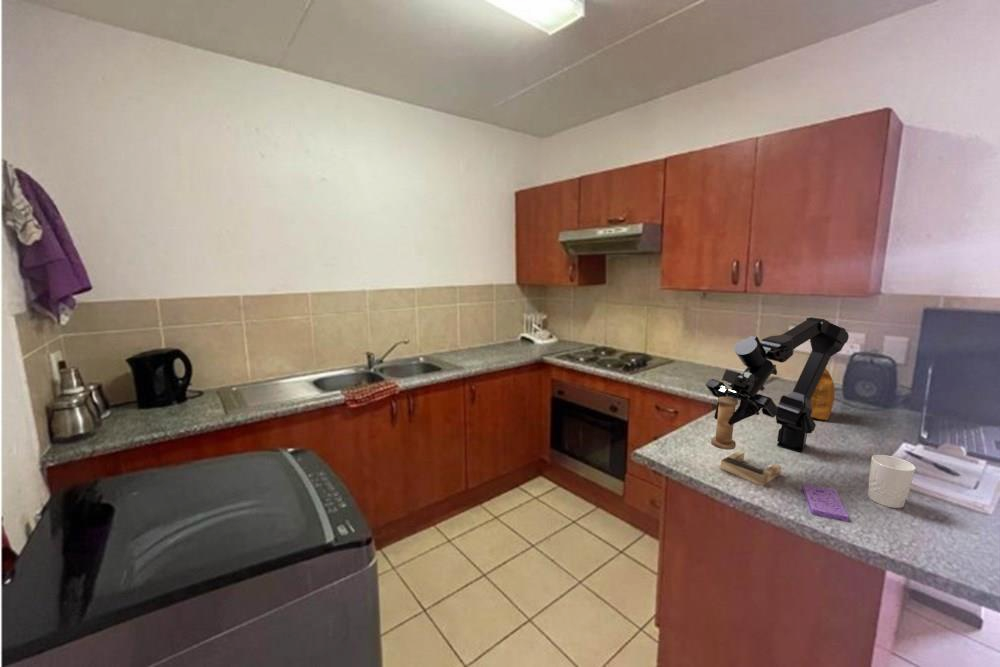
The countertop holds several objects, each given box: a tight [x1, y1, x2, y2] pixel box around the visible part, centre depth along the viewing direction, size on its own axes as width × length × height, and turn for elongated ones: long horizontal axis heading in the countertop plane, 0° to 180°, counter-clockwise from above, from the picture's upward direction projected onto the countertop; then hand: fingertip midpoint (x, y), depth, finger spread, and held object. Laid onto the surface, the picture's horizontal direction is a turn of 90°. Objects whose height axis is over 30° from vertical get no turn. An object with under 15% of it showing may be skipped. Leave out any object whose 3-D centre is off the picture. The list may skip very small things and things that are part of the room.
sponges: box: [802, 483, 850, 522], centre depth 106 cm, size 7×13×2 cm, turn 155°
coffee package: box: [810, 362, 835, 421], centre depth 160 cm, size 10×12×22 cm
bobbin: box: [710, 397, 739, 451], centre depth 121 cm, size 6×6×13 cm
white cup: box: [867, 454, 917, 509], centre depth 107 cm, size 8×8×10 cm
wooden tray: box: [720, 450, 782, 487], centre depth 121 cm, size 10×11×3 cm
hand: (722, 421), depth 121 cm, fingers closed on bobbin, 4 cm apart
